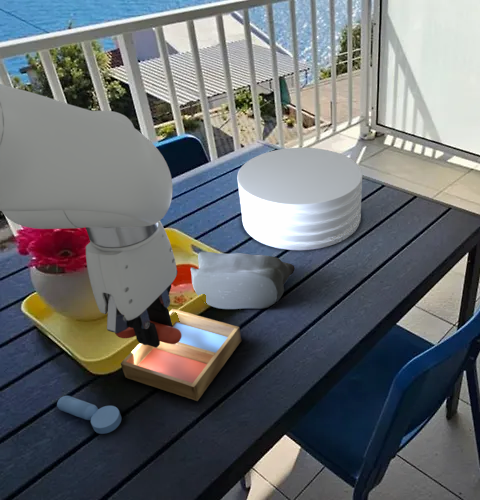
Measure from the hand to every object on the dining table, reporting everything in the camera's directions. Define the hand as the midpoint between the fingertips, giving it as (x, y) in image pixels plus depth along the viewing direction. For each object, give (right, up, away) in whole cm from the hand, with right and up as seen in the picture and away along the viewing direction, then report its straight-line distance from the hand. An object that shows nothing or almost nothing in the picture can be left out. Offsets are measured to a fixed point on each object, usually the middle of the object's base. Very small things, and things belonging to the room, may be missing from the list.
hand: (155, 335), depth 68 cm
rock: (+5, +4, +29) cm, 30 cm away
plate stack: (+15, +20, +52) cm, 57 cm away
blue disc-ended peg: (-12, -13, +5) cm, 18 cm away
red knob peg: (-1, 0, 0) cm, 1 cm away
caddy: (-1, -6, +15) cm, 16 cm away
